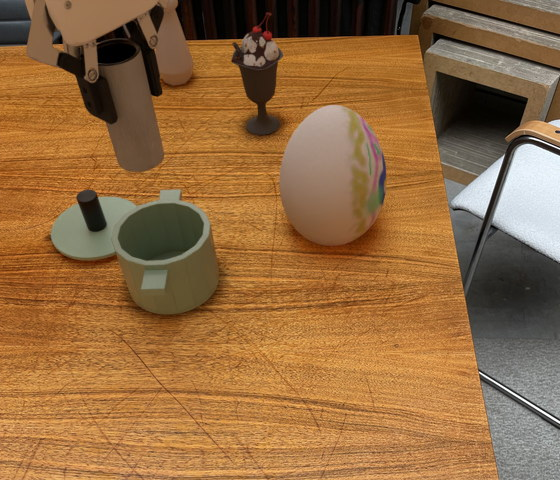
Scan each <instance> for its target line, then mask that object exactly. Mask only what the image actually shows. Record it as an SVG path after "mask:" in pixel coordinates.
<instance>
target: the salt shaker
mask: <svg viewBox="0 0 560 480" xmlns="http://www.w3.org/2000/svg"><path fill="white" fill-rule="evenodd" d="M178 6H179V1H178V0H170V1H169V3H168V5H167V7H166V9H164V17H163V20H162V23H161V25H160V28H159V31H158V37H159V44H158V46H157V47H156V48H155V54H156V59H157V64H158V68H159V73H160V78H161V80H162V81H163V82H164V83H165V84H168V85H170V86H172V87H176V86H181V85H185V84H186V83H187V82H188V81H189V80H190V79H192V73H193V69H194V66H195V65H194V59H193V57H192V54H191V50H190V48H189V45H188V43H187V40H186V37H185V34H184V31H183V28H182V25H181V22H180V20H179V17H178V13H177V11H176V9H177V7H178Z"/></svg>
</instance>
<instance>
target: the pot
mask: <svg viewBox="0 0 560 480" xmlns="http://www.w3.org/2000/svg"><path fill="white" fill-rule="evenodd" d="M136 206H137V207H136V208H134V209H132V210H131V211H129V212H127V213H126V214H124V215H123V217H122V218H121V219H120V220H119V221H118V222H117V224H116V225H115V226H114V230H113V234H112V238H111V241H112V244H113V246H114V249H115V252H116V255H115V256H116V258H117V261H118V264H119V266H120V269H121V272H122V275H123V278H124V280H125V281H124V282H125V284H126V286H127V289H128V292H129V295H130V298H131V300H132V301H133V302H134V303H135V304H136V305H137V306H138V307H140V308H141V309H142V310H144V311H147V312H150V313H152V314H156V315H163V316H164V315H168V316H169V315H179V314H183V313H187V312H190V311H192V310H194V309H197V308H199V307H200V306H202V305H203V304H205V303H206V302H207V301H209V299H210V298H211V297H212V296H213V295H214V294H215V292H216V290H217V288H218V286H219V282H220V275H219V274H220V268H219V263H218V257H217V252H216V246H215V241H214V240H215V239H214V235H213V229H212V224H211V221H210V219H209V217H208V215H207V213H206V212H205V210H203V209H202V208H201V207H199V206H197V205H196V204H194V203H193V202H189V201H185V200H183V192H182V189H180V188H178V189H177V188H176V189H160V191H159V195H158V199H155V200H152V201H149V202H147V203H146V202H145V203H142V204H139V205H136Z"/></svg>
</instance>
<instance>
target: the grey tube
mask: <svg viewBox="0 0 560 480" xmlns="http://www.w3.org/2000/svg"><path fill="white" fill-rule="evenodd" d="M96 45H97V57H98V70H99V75H100V76H102V77H105V78H106V80H107V82H108V85H109V89H110V92H111V96H112V99H113V103H114V106H115V110H116V114H117V117H118V119H117V122H115V123H114V124H112V125H111V124H109V123H107V122H105V125H106V129H107V132H108V135H109V138H110V141H111V145H112V149H113V152H114V155H115V158H116V162H117V163H118V166H119V167H120V168H121V169H123V170H124V171H126V172H131V173H144V172H147V171H150V170H153V169H155V168H156V167H158V166H159V165H160V164H161V163H162V162H163V161H164V158H165V150H164V145H163V141H162V136H161V131H160V128H159V127H160V126H159V123H158V119H157V115H156V110H155V106H154V101H153V97H152V95H151V92H150V88H149V83H148V79H147V75H146V70H145V66H144V62H143V57H142V53H141V49H140V46H139V45H138V44H137V43H136V42H134V41H132V40H129V38H112V39H111V38H110V39H106V40H102V41H100V42H98V43H96Z"/></svg>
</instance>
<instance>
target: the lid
mask: <svg viewBox="0 0 560 480" xmlns="http://www.w3.org/2000/svg"><path fill="white" fill-rule="evenodd" d="M75 198H76V202H77V203H75V204H73V205H71V206H70V207H68V208H66V209H65V210H64V211H63V212H62V213H60V214H59V216H57V218H56V219H55V221H54V222H53V224H52V227H51V230H50V238H51V242H52V244H53V247H54V248H55V249H56V250H57V251H58V252H59V253H60V254H61V255H63V256H65V257H67V258H70V259H72V260H77V261H89V262H90V261H98V260H103V259H108V258H111V257H113V256H117V255H116V252H115V249H114V246H113V244H112V241H111V238H112V234H113V230H114V226H115V225H116V224H117V222H118V221H119V220H120V219H121V218H122V217H123V215H124V214H126V213H127V212H129V211H131V210H132V209H134V208H136V207H137V206H138V205H136V203H134V202H133V201H131V200H128V199H126V198H123V197H119V196H98V193H97V192H96V190H94V189H89V188H88V189H84V190H81V191H79V192H78V193H77V194H76V197H75Z"/></svg>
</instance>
